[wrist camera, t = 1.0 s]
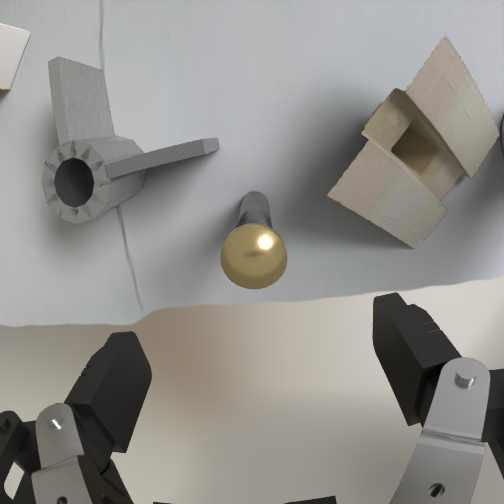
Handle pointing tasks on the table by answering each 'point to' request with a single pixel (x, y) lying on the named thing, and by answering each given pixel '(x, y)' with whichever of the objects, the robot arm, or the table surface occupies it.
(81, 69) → the hinge
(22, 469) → the robot arm
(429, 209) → the beige folded piece
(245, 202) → the pin
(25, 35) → the medicine bottle
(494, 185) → the table surface
